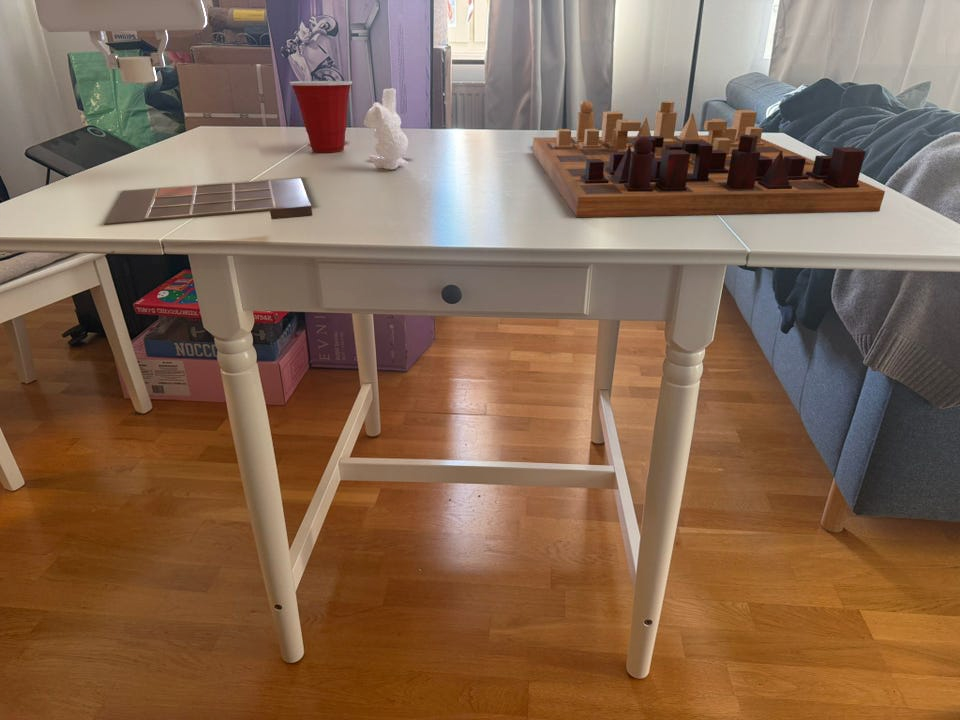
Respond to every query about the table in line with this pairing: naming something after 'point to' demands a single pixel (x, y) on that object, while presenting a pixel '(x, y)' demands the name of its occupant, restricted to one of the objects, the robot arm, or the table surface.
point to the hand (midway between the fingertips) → (137, 68)
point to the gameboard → (695, 169)
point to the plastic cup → (324, 112)
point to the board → (212, 201)
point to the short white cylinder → (137, 69)
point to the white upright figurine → (387, 132)
